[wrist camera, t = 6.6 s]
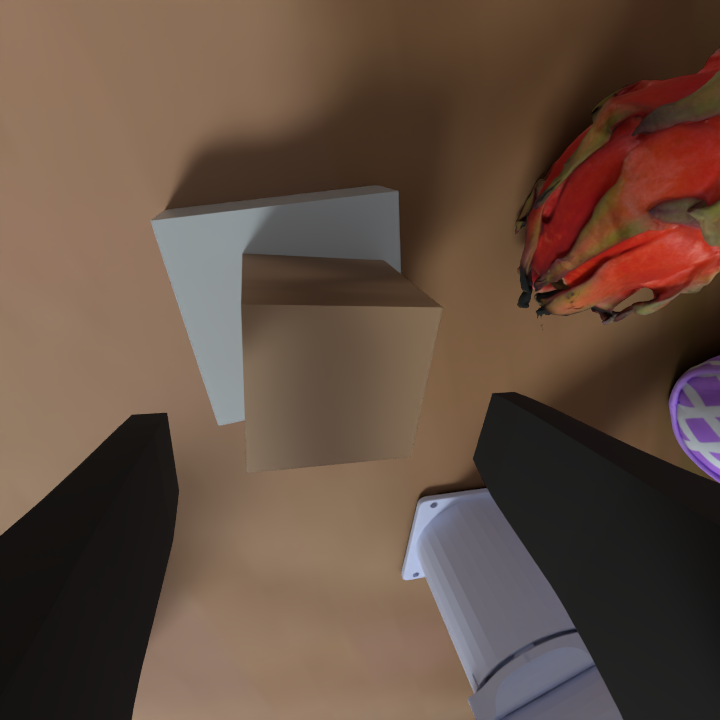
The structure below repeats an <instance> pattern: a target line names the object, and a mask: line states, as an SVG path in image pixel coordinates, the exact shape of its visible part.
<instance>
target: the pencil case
mask: <svg viewBox="0 0 720 720" xmlns="http://www.w3.org/2000/svg"><path fill="white" fill-rule="evenodd" d="M669 411H670V415H671V424H672V428H673V432H674V434H675V437H676V439H677V441H678V443H679V445H680V446H681V447H682V449H683V450H684V452H685V453H686V454H687V455H688V456H689V457H690V459H691V460H692V461H694V462H695V463H696V464H697V465H698V466H699V467H700V468H701V469H702V470H703V471H704V472H706V473H707V474H708V475H710V476H711V477H712V478H714V479H715V480H716V481H718V482H719V483H720V355H719V356H716V357H714V358H711V359H709V360H707V361H705V362H703V363H701V364H699V365H697V366H694V367H692V368H690V369H689V370H687V371H686V372H685V373H684V374H683V375H682V376H681V377H680V378H679V379H678V380H677V382H676V384H675V386H674V387H673V389H672V392H671V395H670V398H669Z"/></svg>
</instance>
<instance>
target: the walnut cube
mask: <svg viewBox="0 0 720 720" xmlns="http://www.w3.org/2000/svg"><path fill="white" fill-rule="evenodd" d="M442 308H443V307H441V306H440V305H439V304H438V303H437V302H435V301H434V300H433V299H432V298H430V297H429V296H428V295H427V294H425V293H424V292H423V291H422V290H420V289H419V288H418V287H417V286H415V285H414V284H413V283H412V282H410V281H409V280H408V279H407V278H405V277H404V276H403V275H402V274H401V273H399V272H398V271H397V270H396V269H394V268H393V267H392V266H391V265H389V264H388V263H387V262H386V261H384V260H367V259H347V258H327V257H306V256H286V255H266V254H246V253H242V286H241V319H242V350H243V380H244V410H245V441H246V471H247V473H252V472H262V471H272V470H283V469H293V468H303V467H314V466H324V465H334V464H345V463H355V462H365V461H375V460H386V459H396V458H406V457H411V454H412V450H413V445H414V440H415V436H416V431H417V426H418V421H419V417H420V412H421V407H422V403H423V398H424V393H425V388H426V384H427V379H428V374H429V370H430V365H431V360H432V356H433V351H434V346H435V341H436V337H437V332H438V327H439V323H440V318H441V313H442Z"/></svg>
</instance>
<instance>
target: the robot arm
mask: <svg viewBox="0 0 720 720" xmlns="http://www.w3.org/2000/svg"><path fill="white" fill-rule="evenodd" d="M473 460H474V462H475V464H476V466H477V469H478V471H479V473H480V475H481V477H482V479H483V481H484V483H485V485H486V487H487V488H484V489H476V490H469V491H461V492H454V493H446V494H439V495H432V496H425V497H422V498H421V499H420V500H419V501H418V503H417V508H416V512H415V516H414V520H413V525H412V529H411V533H410V538H409V542H408V546H407V551H406V555H405V559H404V564H403V568H402V572H401V574H402V577H403V579H404V580H411V579H416V578H421V577H426V580H427V582H428V584H429V587H430V589H431V591H432V594H433V596H434V599H435V601H436V603H437V606H438V608H439V611H440V613H441V615H442V618H443V620H444V623H445V625H446V627H447V630H448V632H449V634H450V637H451V639H452V642H453V644H454V646H455V649H456V651H457V654H458V656H459V658H460V661H461V663H462V666H463V668H464V670H465V673H466V675H467V677H468V680H469V682H470V685H471V687H472V689H473V692H474V694H473V695H472V696H470V697H469V698H468V702H469V704H470V707H471V709H472V712H473V714H474V717H475V719H476V720H720V483H717V482H715V481H712V480H709V479H707V478H704V477H702V476H699V475H697V474H694V473H692V472H689V471H687V470H685V469H682V468H680V467H677V466H675V465H673V464H671V463H668V462H666V461H664V460H661V459H659V458H657V457H655V456H652V455H650V454H648V453H646V452H643V451H641V450H639V449H637V448H635V447H632V446H630V445H628V444H626V443H624V442H622V441H620V440H618V439H615V438H613V437H611V436H609V435H607V434H605V433H603V432H601V431H599V430H597V429H595V428H593V427H590V426H588V425H586V424H584V423H582V422H580V421H578V420H576V419H574V418H572V417H570V416H568V415H566V414H564V413H562V412H560V411H557V410H555V409H553V408H551V407H549V406H547V405H545V404H542V403H540V402H538V401H536V400H533V399H531V398H529V397H526V396H524V395H521V394H518V393H516V392H507V393H492V397H491V400H490V403H489V407H488V410H487V414H486V417H485V420H484V424H483V427H482V430H481V434H480V437H479V440H478V444H477V447H476V450H475V454H474V457H473ZM178 495H179V488H178V481H177V475H176V468H175V462H174V455H173V449H172V442H171V436H170V429H169V423H168V416H167V413H155V414H138V415H131V416H130V417H129V418H128V419H127V420H126V421H125V422H124V423H123V424H122V425H120V426H119V427H118V428H117V429H116V430H115V431H114V432H113V433H112V434H111V435H110V436H109V437H108V438H107V439H106V440H105V441H104V442H103V443H102V444H101V445H100V446H99V447H98V448H97V449H96V450H95V451H94V452H93V453H91V454H90V455H89V456H88V457H87V458H86V459H85V460H84V461H83V462H82V463H81V464H80V465H79V466H78V467H77V468H76V469H75V470H74V471H73V472H72V473H70V474H69V475H68V476H67V477H66V478H65V479H64V480H63V481H62V482H61V483H60V484H59V485H58V486H56V487H55V488H54V489H53V490H52V491H51V492H50V493H49V494H48V495H47V496H46V497H45V498H44V499H42V500H41V501H40V502H39V503H38V504H37V505H36V506H35V507H33V508H32V509H31V510H30V511H29V512H28V513H26V514H25V515H24V516H23V517H22V518H21V519H19V520H18V521H17V522H16V523H15V524H14V525H12V526H11V527H10V528H9V529H8V530H7V531H5V532H4V533H3V534H2V535H1V536H0V720H132V714H133V708H134V703H135V698H136V693H137V688H138V683H139V679H140V674H141V669H142V665H143V661H144V657H145V653H146V649H147V645H148V641H149V637H150V633H151V629H152V625H153V621H154V616H155V612H156V608H157V604H158V600H159V596H160V592H161V588H162V584H163V580H164V576H165V572H166V567H167V563H168V559H169V555H170V551H171V546H172V542H173V536H174V528H175V521H176V512H177V504H178Z"/></svg>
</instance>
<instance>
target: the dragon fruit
mask: <svg viewBox="0 0 720 720" xmlns="http://www.w3.org/2000/svg"><path fill="white" fill-rule="evenodd" d="M591 115H592V122H593V124H592V125H591V126H590V127H588V128H587V129H586V130H585V131H584V132H583V133H581V134H580V135H579V136H578V137H577V138H576V139H575V140H574V141H573V142H572V143H571V144H570V145H569V146H568V148H567V149H566V150H565V151H564V153H563V154H562V155H561V157H560V158H559V159H558V160H557V161H556V162H554V164H553V165H552V167H551V169H550V170H549V172H548V174H547V175H546V177H545V178H544V179H539V180H538V181H537V183H536V184H535V186H534V188H533V191H532V193H531V195H530V197H529V198H528V200H527V201H526V204H525V206H524V208H523V210H522V213H521V215H520V217H519V218H518V219H517V221H516V230H515V234H517V233H518V231H519V230H520V229H521V228H522V227H523V226H525V225H526V224H527V231H526V233H527V235H526V242H525V248H524V251H523V255H522V258H521V262H520V267H519V268H518V274H519V275H520V282H521V288H522V290H523V293H522V294H521V296H520V297H519V300H518V304H517V305H518V306H519V307H520V308H528V307H529V304H528V303H529V302H530V299H531V293H532V290H533V289H534V290H535V291H539V292H540V293H537V294H535V296H534V299H535V300H536V302H537V303H539V305H540V306H541V307H540V308H539V309H538V310H537V311H536V313H537V318H538V316H539V315H540V316H542V315H543V314H545V315H550V314H554V315H563V316H568V315H571V314H575V313H579V312H582V311H585V310H588V309H590V308H591V310H592V311H593V312H596V313H598V314H600V317H601V319H602V320H603V321H602V323H603V324H609V323H612V322H615V321H619V320H622V319H623V318H625V317H626V316H628V315H629V314H630V313H632V312H633V311H634V312H635V313H636V314H640V315H646V314H650V313H653V312H655V311H657V310H658V309H660V308H662V307H663V306H665V305H667V304H668V303H669V302H670V301H671V300H672V299H674V298H675V297H677V296H678V295H679V294H680V293H684V294H686V293H697V292H699V291H700V290H701V289H702V287H703V286H705V285H708V284H709V283H710V282H711V280H712V279H713V278H714V276H715V275H716V274H717V273H719V272H720V47H719V48H717V49H716V50H715V52H714V53H713V54H712V55H711V56H710V57H709V59H708V60H707V62H706V64H705V66H704V68H703V69H702V70H700V71H699V72H698V73H696V74H691V75H686V76H680V77H675V78H671V79H667V80H663V81H662V80H640V81H638V82H635V83H633V84H629V85H626V86H624V87H622V88H621V89H619V90H618V91H616V92H614V93H612V94H610V95H608V96H607V97H605V98H604V99H603V100H602V101H601V102H599V103H598V104H597V105H596V106H595V107H594V108H593V109H592V111H591ZM644 287H646V288H649V289H651V290H653V294H654V299H653V300H650V301H644V302H636V303H634V304H632V306H629V307H627V308H625V309H624V310H622V311H621V312H615V311H612V310H613V309H614V307H615V306H617V305H618V304H619V303H620V302H622V301H623V300H625V299H626V298H628V297H629V296H631V295H633V294H634V293H635V292H637V291H638V290H640V289H641V288H644ZM554 289H557V290H554ZM552 290H553V291H552ZM541 326H542V325H541ZM542 330H543V329H542Z"/></svg>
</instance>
